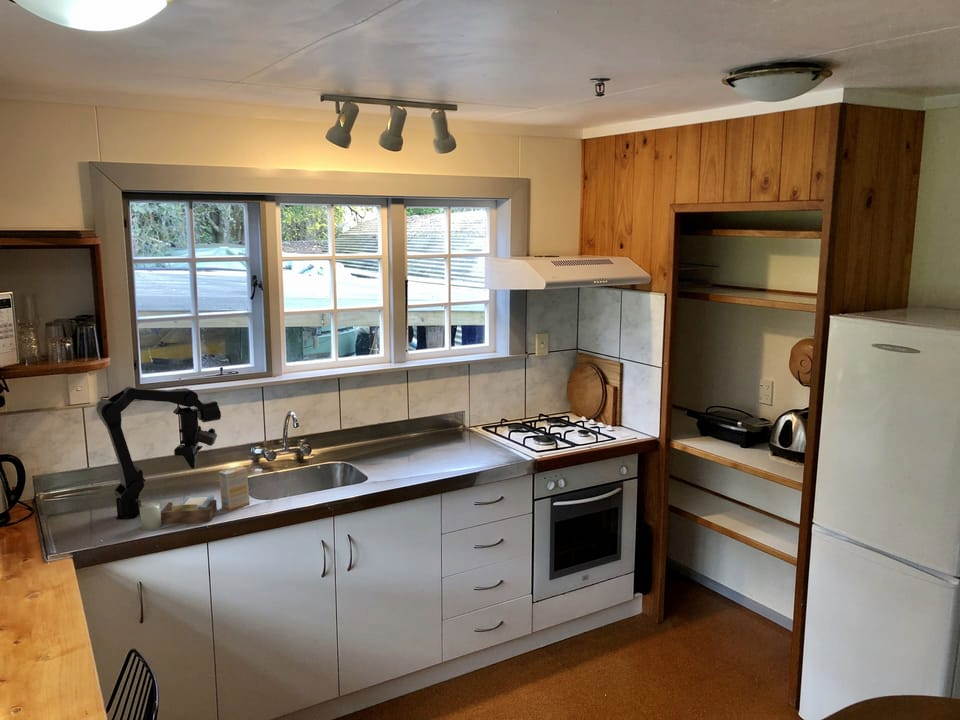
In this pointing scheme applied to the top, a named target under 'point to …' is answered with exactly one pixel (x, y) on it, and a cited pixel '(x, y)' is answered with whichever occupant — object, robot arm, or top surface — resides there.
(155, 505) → the frosted glass jar
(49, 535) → the top surface
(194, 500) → the carton
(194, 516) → the wooden tray
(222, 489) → the supplement box
